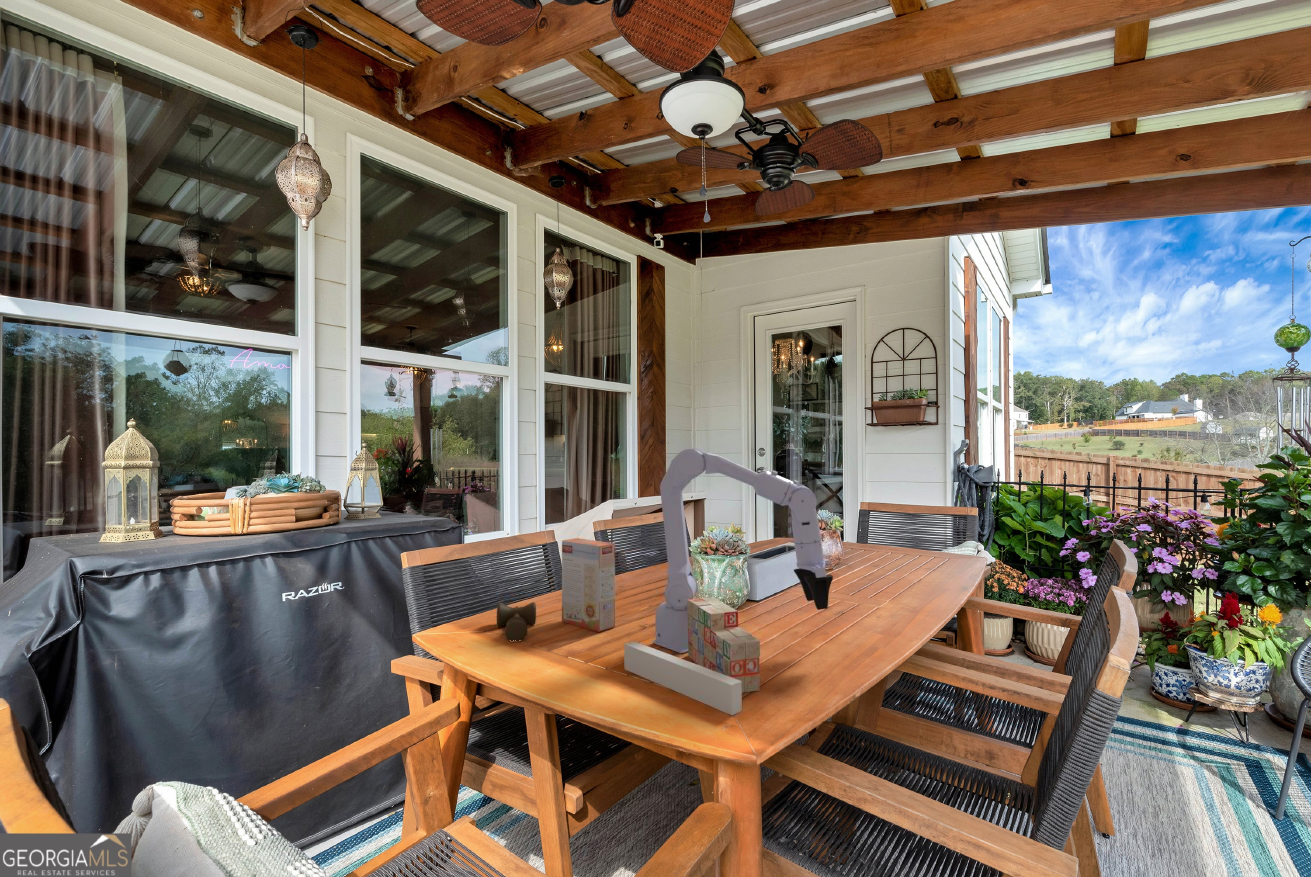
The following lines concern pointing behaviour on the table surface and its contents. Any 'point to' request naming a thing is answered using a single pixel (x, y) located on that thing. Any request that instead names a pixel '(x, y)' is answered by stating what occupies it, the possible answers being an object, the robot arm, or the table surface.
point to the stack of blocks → (722, 642)
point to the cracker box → (588, 583)
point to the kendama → (516, 620)
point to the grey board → (684, 677)
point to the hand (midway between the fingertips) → (817, 604)
